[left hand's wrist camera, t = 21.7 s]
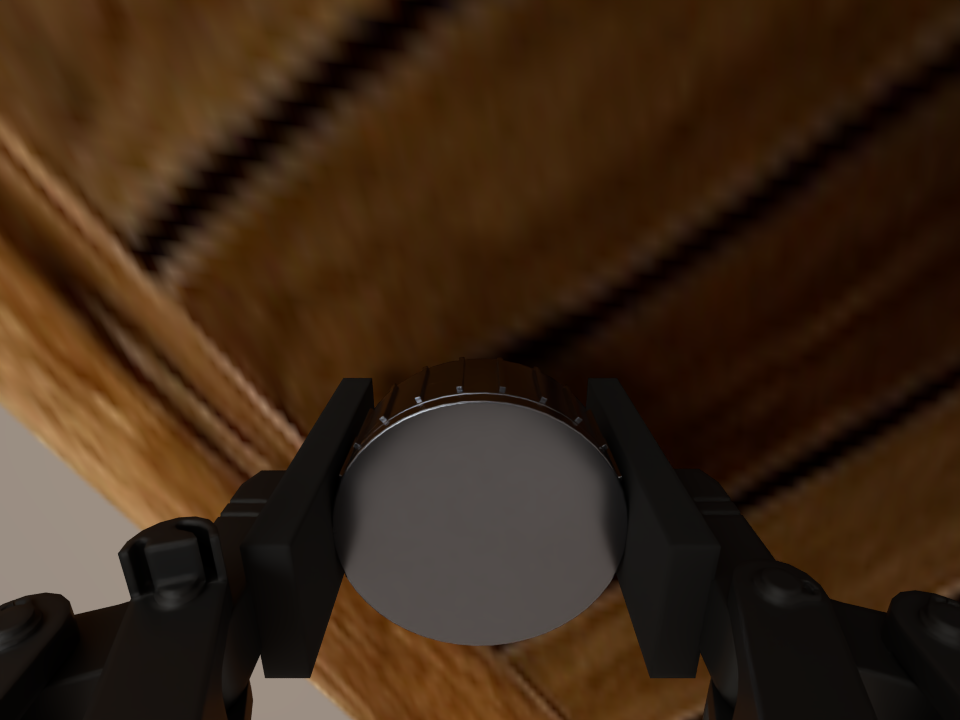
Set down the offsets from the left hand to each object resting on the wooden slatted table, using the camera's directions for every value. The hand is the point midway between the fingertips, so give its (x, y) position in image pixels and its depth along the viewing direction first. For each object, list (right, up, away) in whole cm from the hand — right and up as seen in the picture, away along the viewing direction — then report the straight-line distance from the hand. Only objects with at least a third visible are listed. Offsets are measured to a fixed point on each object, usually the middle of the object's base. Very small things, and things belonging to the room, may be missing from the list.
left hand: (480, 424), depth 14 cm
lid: (0, -2, -4) cm, 4 cm away
